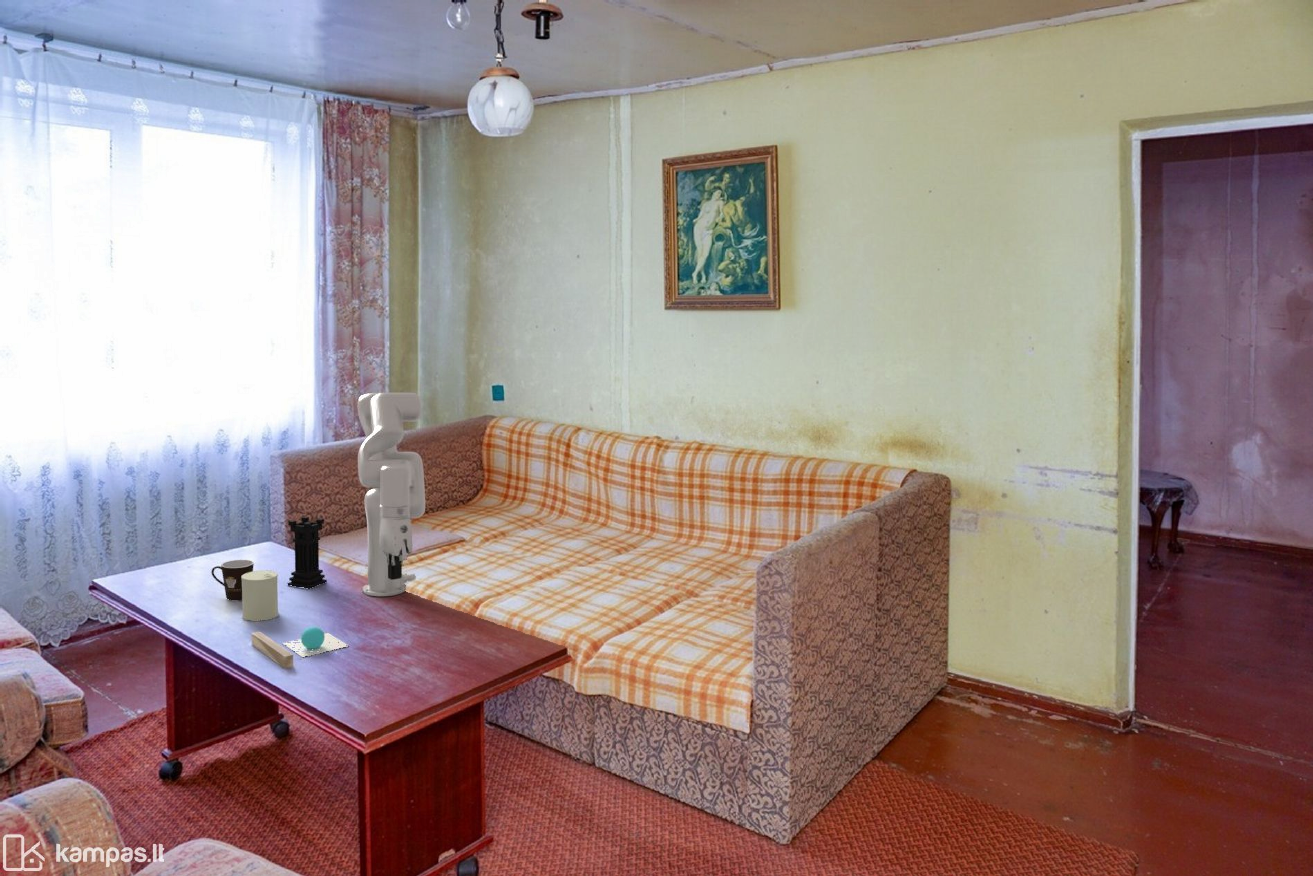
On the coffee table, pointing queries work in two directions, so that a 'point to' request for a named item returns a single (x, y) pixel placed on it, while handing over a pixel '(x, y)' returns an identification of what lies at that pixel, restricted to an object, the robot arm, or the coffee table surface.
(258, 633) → the rail
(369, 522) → the robot arm
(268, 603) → the can
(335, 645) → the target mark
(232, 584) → the coffee mug
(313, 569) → the chess piece
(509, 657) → the coffee table surface
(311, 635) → the ball
